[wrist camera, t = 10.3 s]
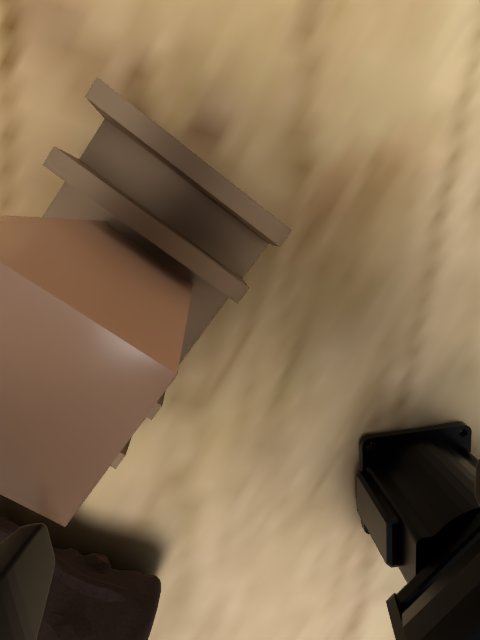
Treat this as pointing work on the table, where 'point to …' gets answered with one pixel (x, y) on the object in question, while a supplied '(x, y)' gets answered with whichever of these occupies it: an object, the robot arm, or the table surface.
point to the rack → (164, 208)
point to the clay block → (78, 354)
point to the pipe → (94, 598)
